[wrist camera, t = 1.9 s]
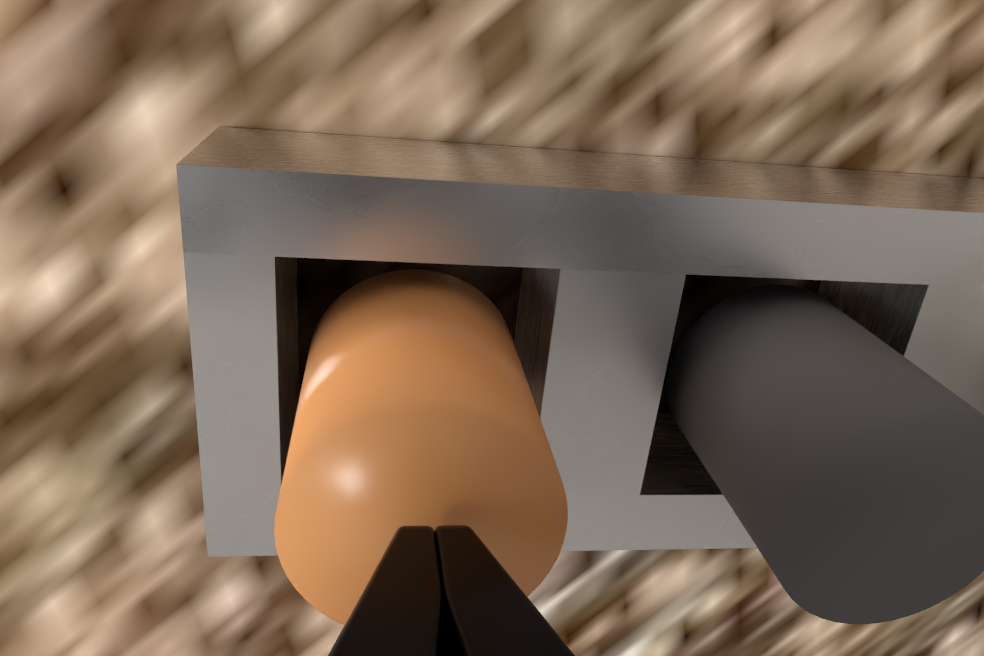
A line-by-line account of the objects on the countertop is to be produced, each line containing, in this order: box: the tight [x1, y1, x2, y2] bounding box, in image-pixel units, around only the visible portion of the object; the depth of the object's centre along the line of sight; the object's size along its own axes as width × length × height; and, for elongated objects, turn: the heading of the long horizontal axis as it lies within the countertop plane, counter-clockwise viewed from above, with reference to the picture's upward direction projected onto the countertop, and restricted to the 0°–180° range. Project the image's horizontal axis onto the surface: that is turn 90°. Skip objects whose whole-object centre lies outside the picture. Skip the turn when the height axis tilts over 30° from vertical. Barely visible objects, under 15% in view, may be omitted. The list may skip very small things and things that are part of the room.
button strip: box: [177, 127, 984, 556], centre depth 15 cm, size 20×7×3 cm, turn 85°
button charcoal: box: [666, 285, 984, 624], centre depth 12 cm, size 4×4×4 cm
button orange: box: [274, 269, 568, 625], centre depth 11 cm, size 4×4×4 cm
